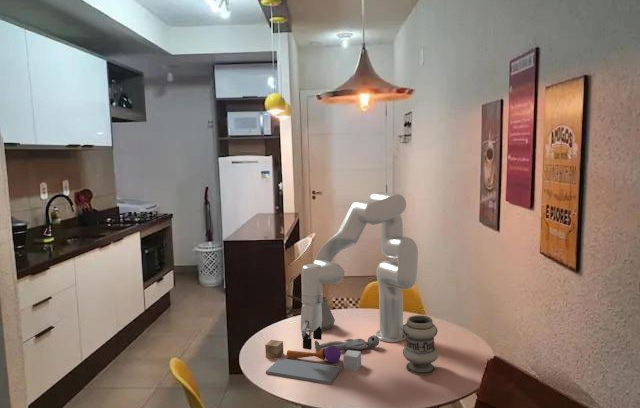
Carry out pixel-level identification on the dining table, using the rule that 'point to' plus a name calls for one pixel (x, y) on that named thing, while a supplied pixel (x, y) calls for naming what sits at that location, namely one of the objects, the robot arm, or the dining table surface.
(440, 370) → the dining table surface
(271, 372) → the charcoal mat
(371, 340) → the alien figure
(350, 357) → the grey block
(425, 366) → the apothecary jar
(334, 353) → the kendama
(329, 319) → the coffee pot
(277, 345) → the walnut block
